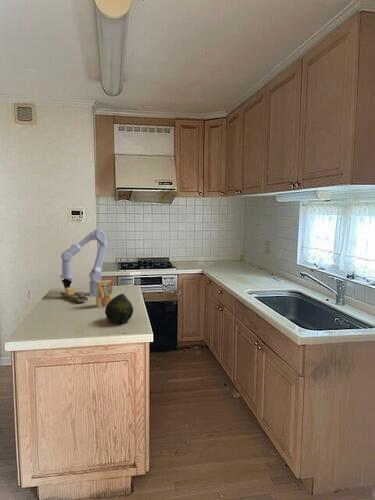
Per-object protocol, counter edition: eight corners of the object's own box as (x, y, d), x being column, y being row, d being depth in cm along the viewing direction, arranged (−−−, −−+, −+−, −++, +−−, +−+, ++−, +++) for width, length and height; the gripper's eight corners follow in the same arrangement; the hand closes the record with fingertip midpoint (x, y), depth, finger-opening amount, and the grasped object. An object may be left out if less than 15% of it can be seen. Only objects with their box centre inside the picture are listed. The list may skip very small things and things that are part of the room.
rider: (74, 294, 240) (74, 288, 240) (68, 295, 238) (68, 289, 237) (71, 292, 243) (70, 287, 243) (65, 293, 240) (65, 287, 240)
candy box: (109, 304, 229) (109, 279, 227) (112, 305, 225) (112, 281, 223) (95, 306, 223) (95, 281, 221) (99, 308, 220) (98, 282, 218)
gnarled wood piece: (88, 302, 232) (88, 293, 231) (78, 304, 227) (78, 295, 226) (69, 295, 248) (69, 287, 247) (59, 297, 243) (59, 288, 242)
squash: (101, 316, 187) (120, 293, 189) (99, 309, 201) (117, 287, 203) (122, 332, 191) (141, 310, 192) (119, 324, 205) (137, 303, 207)
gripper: (55, 269, 243) (56, 289, 245) (66, 272, 233) (67, 293, 235) (65, 268, 248) (66, 287, 250) (76, 271, 238) (77, 291, 240)
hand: (67, 290), depth 242 cm, fingers closed
